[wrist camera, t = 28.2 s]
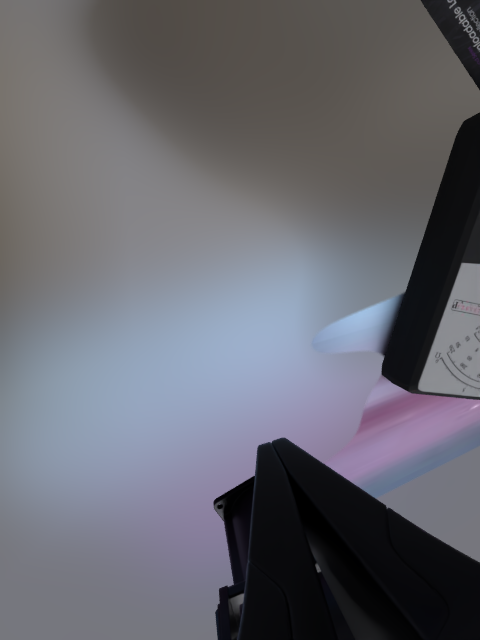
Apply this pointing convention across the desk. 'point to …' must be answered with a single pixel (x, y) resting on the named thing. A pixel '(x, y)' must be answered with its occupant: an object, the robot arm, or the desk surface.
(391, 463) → the desk surface
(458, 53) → the box
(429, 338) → the multimeter
